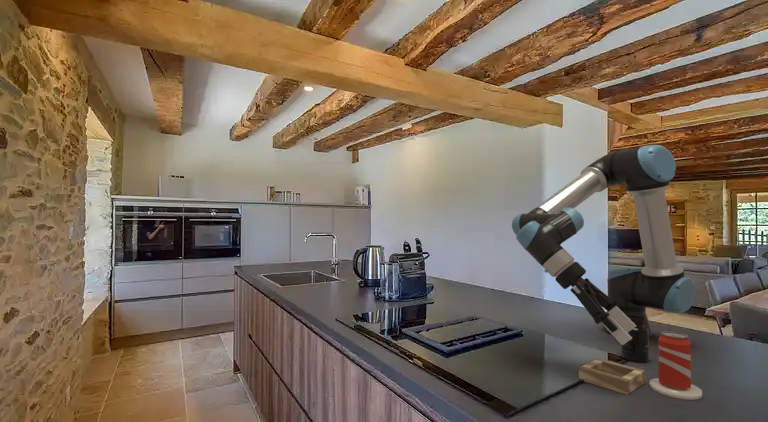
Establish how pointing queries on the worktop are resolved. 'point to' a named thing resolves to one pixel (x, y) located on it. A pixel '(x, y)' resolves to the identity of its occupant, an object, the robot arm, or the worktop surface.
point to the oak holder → (612, 375)
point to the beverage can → (675, 360)
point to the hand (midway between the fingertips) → (630, 335)
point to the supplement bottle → (637, 342)
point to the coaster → (676, 391)
